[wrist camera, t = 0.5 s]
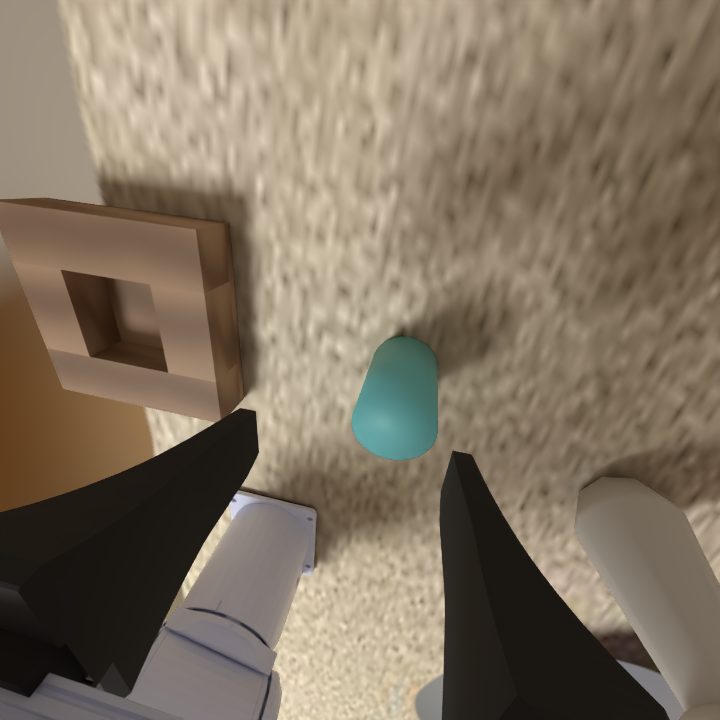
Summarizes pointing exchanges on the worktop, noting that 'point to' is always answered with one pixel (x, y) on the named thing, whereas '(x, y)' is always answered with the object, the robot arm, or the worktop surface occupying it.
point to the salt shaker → (657, 584)
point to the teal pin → (398, 401)
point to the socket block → (131, 302)
